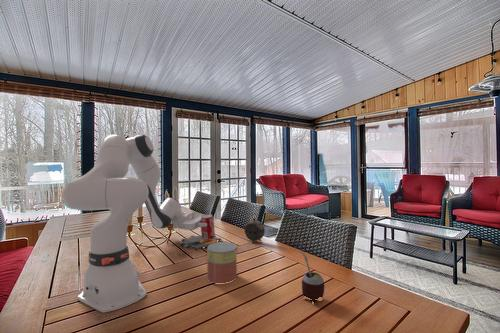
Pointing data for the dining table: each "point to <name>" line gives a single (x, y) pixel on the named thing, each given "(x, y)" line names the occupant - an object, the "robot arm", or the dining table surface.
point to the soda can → (207, 227)
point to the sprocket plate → (197, 242)
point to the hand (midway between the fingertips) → (209, 223)
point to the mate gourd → (312, 283)
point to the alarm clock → (254, 230)
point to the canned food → (221, 262)
